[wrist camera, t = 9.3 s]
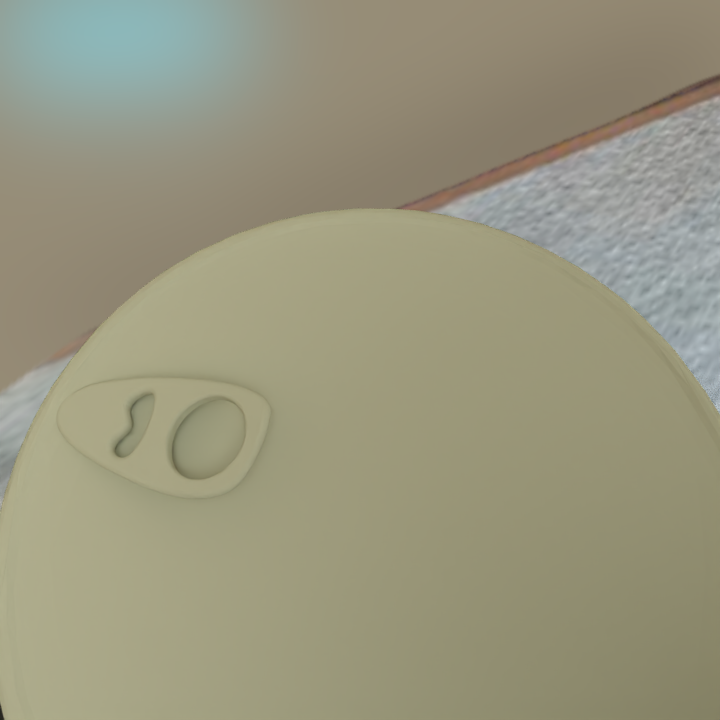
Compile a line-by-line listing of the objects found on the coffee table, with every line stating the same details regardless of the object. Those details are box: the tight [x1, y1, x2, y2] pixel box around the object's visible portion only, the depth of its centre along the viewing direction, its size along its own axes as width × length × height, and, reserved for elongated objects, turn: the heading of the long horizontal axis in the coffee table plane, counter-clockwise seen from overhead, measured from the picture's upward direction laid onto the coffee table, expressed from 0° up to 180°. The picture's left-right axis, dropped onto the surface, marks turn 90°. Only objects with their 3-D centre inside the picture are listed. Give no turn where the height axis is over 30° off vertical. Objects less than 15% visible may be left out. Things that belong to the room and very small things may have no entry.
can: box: [0, 208, 720, 720], centre depth 13 cm, size 9×9×12 cm
